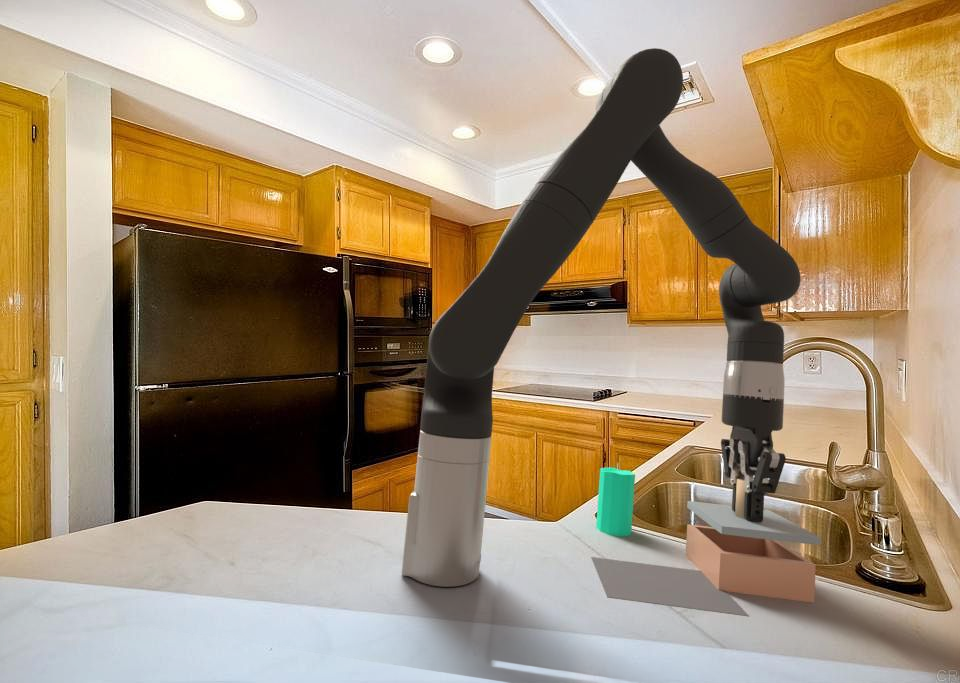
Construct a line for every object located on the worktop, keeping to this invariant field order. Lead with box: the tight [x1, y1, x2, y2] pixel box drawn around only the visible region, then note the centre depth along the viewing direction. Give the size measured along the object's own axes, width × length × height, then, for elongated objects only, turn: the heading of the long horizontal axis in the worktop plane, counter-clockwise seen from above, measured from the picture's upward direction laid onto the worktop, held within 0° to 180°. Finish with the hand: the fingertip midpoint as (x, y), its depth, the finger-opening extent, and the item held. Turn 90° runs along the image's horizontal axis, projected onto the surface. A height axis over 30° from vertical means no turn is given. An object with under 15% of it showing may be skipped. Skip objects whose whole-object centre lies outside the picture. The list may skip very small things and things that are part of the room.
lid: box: [686, 479, 821, 546], centre depth 64 cm, size 12×12×6 cm
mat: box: [591, 556, 750, 617], centre depth 59 cm, size 16×12×1 cm
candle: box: [595, 462, 636, 537], centre depth 79 cm, size 6×6×12 cm
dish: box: [685, 524, 817, 604], centre depth 64 cm, size 12×12×5 cm
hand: (746, 516), depth 64 cm, fingers closed on lid, 3 cm apart
